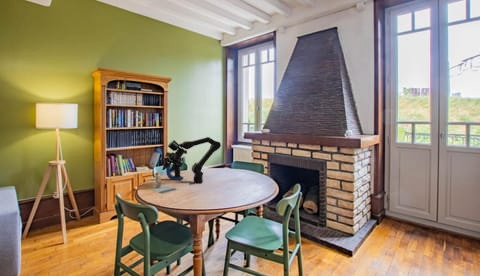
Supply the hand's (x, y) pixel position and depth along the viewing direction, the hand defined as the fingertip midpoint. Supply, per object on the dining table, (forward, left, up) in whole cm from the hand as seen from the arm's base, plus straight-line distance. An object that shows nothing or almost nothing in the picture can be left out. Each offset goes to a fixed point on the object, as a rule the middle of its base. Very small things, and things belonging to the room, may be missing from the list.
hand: (166, 170), depth 198 cm
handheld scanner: (0, -25, -13) cm, 28 cm away
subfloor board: (-1, +9, -13) cm, 16 cm away
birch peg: (+4, +6, -11) cm, 13 cm away
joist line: (-6, +13, -11) cm, 18 cm away
